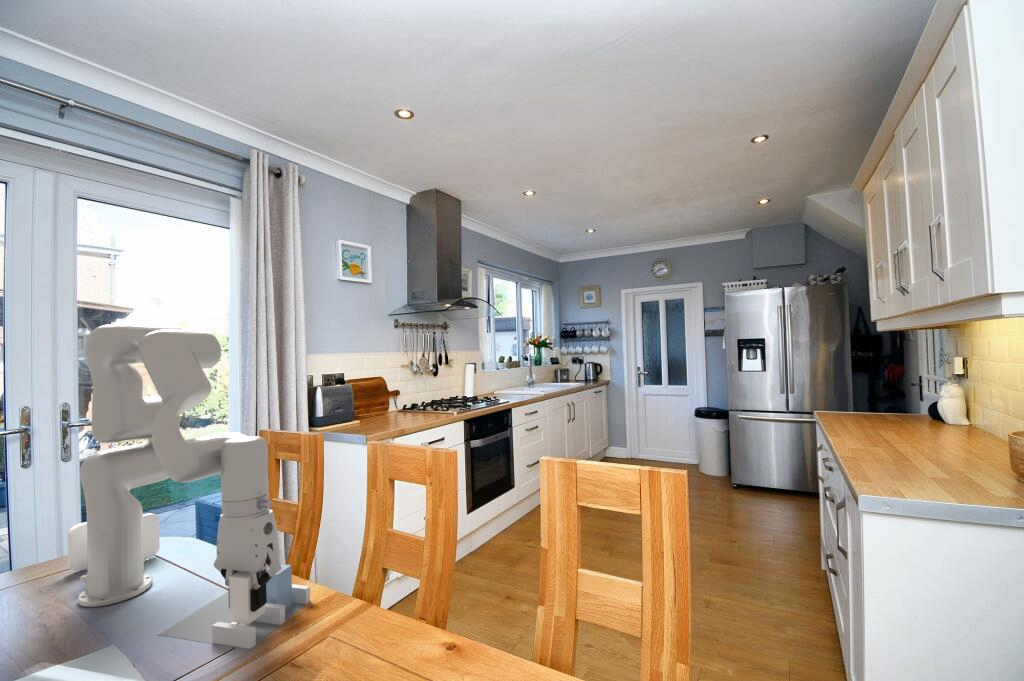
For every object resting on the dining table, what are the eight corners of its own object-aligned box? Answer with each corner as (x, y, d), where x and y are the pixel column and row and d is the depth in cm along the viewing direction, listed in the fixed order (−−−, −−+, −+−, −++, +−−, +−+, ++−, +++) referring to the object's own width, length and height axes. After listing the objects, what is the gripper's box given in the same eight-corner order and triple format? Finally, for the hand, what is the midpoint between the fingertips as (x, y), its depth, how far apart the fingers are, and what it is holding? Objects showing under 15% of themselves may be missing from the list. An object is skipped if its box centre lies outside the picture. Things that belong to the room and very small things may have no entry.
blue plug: (260, 614, 92) (259, 572, 92) (275, 603, 96) (274, 563, 96) (277, 616, 91) (277, 574, 91) (292, 605, 95) (291, 565, 95)
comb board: (157, 643, 86) (157, 618, 86) (230, 597, 102) (229, 576, 102) (249, 658, 81) (249, 631, 81) (311, 607, 97) (310, 585, 97)
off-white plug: (247, 609, 89) (246, 566, 89) (265, 611, 88) (264, 568, 88) (230, 621, 85) (229, 576, 85) (248, 624, 84) (247, 578, 84)
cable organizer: (88, 583, 110) (87, 532, 110) (66, 574, 114) (65, 525, 114) (160, 556, 123) (159, 511, 123) (138, 549, 128) (137, 506, 128)
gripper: (299, 501, 88) (301, 600, 88) (225, 496, 93) (227, 591, 92) (269, 515, 81) (271, 623, 81) (190, 509, 85) (192, 612, 85)
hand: (247, 605), depth 87 cm, fingers closed on off-white plug, 4 cm apart
